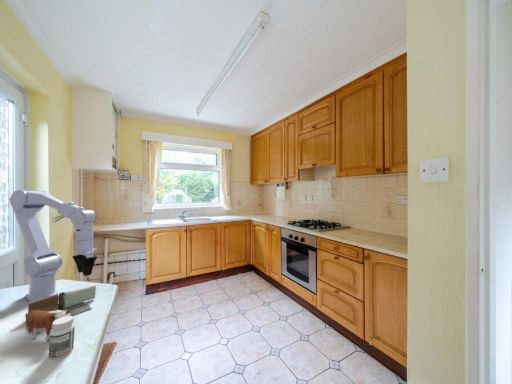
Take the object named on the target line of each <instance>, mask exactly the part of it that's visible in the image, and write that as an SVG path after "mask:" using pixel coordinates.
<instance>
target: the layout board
mask: <svg viewBox="0 0 512 384" xmlns="http://www.w3.org/2000/svg"><path fill="white" fill-rule="evenodd" d="M68 310H71V311H70V312H69V313H68V314H65V316H73V317H74V316H77V315H79V314H82V313H84V312H88V311H91V310H92V307H91V306H90V305H89V304H87V303H86V302H82V303H78V304H75V305H72V306H69V307H66V308H64V309H62V310H61V311H64V312H66V311H68ZM27 315H28V312H27V313H25V316H27Z"/></svg>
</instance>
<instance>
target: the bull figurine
mask: <svg viewBox="0 0 512 384" xmlns="http://www.w3.org/2000/svg"><path fill="white" fill-rule="evenodd" d="M70 311H71V310H68V311H66V312H64V311H61V310H57V311H40V310H32V311H30V312H29V314H28V315H25V324H26V325H25V331H26V333H27V334H28V335H30V336H29V339H30V341H35V340H36V339H37V337H36V335H35V334H37V335H39V334H40V333H41V330H42V331H43V330H44V329H45V330H46V331H45V332H46V333H45V334H46V337H45V338H44V340H45V342H49V339H50V331H51V330H52V323H53V322H54V321H55V320H57V319H59V318H61V317H65V314H68V313H69V312H70ZM34 329H35V330H34ZM34 332H35V334H34Z"/></svg>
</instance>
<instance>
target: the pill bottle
mask: <svg viewBox="0 0 512 384" xmlns="http://www.w3.org/2000/svg"><path fill="white" fill-rule="evenodd" d="M75 326H76V325H75V323H74V316H65V317H61V318H59V319H57V320H55V321H54V322H53V323H52V329H51V331H50V335H49V336H50V339H49V341H48V359H50V360H57V359H60V358H64V357H65V356H67V355H69V354H70V353H71V352H72V351H73V350H74V346H75V328H76V327H75Z"/></svg>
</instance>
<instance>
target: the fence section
mask: <svg viewBox="0 0 512 384" xmlns="http://www.w3.org/2000/svg"><path fill="white" fill-rule="evenodd" d="M58 293H59V294H58V295H55V296H51V297H47V298H44V299H40V300H36V301H33V302H30V301H29V302H28V306H27V307H28V308H27V313H28V314H29V312H30V311H32V310H40V311H57V310H62V309H64V295H65V294H64V293H65V291H63V292H58Z"/></svg>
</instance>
